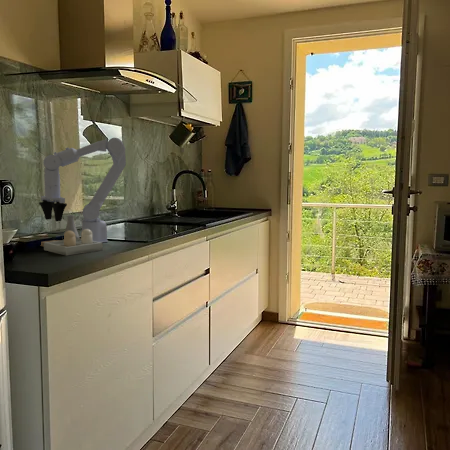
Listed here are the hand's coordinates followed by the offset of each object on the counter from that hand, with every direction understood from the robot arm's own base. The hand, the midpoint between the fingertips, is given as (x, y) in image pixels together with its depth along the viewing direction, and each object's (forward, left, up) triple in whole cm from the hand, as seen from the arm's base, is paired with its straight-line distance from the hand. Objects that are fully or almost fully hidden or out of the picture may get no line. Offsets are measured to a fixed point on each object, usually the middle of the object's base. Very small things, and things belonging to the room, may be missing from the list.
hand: (53, 220), depth 181 cm
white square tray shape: (+2, +18, -9) cm, 20 cm away
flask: (-12, -7, -10) cm, 17 cm away
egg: (+6, +22, -8) cm, 24 cm away
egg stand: (+3, +5, -9) cm, 11 cm away
